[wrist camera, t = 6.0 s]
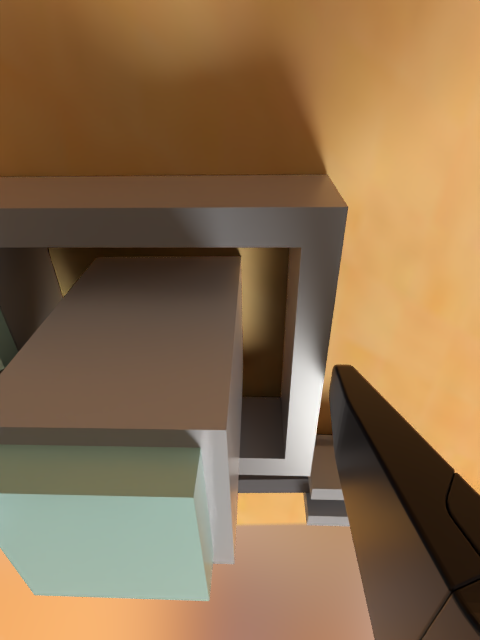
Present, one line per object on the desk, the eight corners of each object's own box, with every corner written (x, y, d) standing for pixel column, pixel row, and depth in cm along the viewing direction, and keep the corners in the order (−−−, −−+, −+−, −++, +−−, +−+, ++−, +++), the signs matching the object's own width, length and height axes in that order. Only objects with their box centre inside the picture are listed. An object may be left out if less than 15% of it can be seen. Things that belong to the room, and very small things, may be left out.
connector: (241, 256, 11) (221, 480, 5) (243, 368, 13) (232, 611, 7) (96, 256, 11) (-82, 474, 5) (124, 366, 13) (20, 603, 7)
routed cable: (406, 436, 14) (428, 491, 12) (392, 477, 16) (410, 532, 14) (111, 430, 15) (91, 483, 13) (123, 471, 16) (106, 523, 14)
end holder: (327, 174, 9) (354, 217, 7) (302, 413, 14) (312, 494, 11) (-7, 176, 10) (-105, 219, 7) (76, 410, 14) (35, 488, 12)
